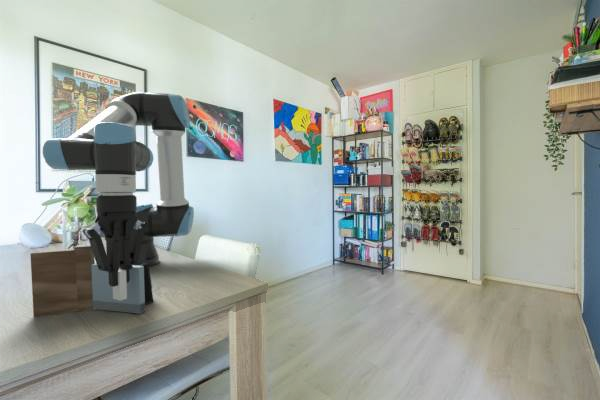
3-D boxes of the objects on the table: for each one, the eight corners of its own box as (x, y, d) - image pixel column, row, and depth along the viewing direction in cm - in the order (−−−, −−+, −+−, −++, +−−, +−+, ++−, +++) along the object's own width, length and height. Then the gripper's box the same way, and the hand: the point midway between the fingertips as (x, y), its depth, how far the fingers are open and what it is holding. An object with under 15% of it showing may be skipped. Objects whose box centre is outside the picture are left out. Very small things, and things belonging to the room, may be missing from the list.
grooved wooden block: (39, 312, 67) (35, 247, 66) (97, 304, 72) (95, 243, 71) (32, 318, 64) (28, 250, 63) (93, 309, 69) (91, 246, 68)
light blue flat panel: (93, 308, 68) (91, 264, 68) (98, 306, 70) (97, 262, 69) (140, 313, 66) (138, 267, 65) (145, 310, 67) (143, 265, 67)
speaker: (158, 302, 72) (153, 262, 72) (133, 310, 68) (128, 268, 68) (149, 297, 78) (145, 260, 77) (125, 304, 74) (121, 265, 73)
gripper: (93, 195, 54) (97, 313, 55) (154, 193, 66) (157, 291, 67) (73, 194, 58) (77, 306, 59) (134, 193, 69) (137, 286, 70)
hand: (120, 298), depth 63 cm, fingers closed
